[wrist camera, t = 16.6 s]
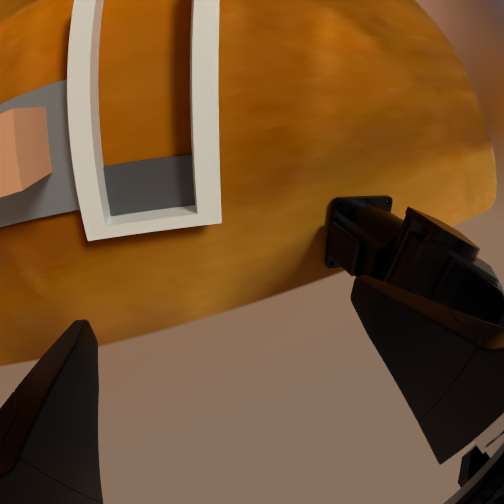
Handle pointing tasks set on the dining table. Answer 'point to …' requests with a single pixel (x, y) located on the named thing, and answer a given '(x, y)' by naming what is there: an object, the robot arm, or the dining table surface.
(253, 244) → the dining table surface
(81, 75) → the channel
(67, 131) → the coaster
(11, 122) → the block
